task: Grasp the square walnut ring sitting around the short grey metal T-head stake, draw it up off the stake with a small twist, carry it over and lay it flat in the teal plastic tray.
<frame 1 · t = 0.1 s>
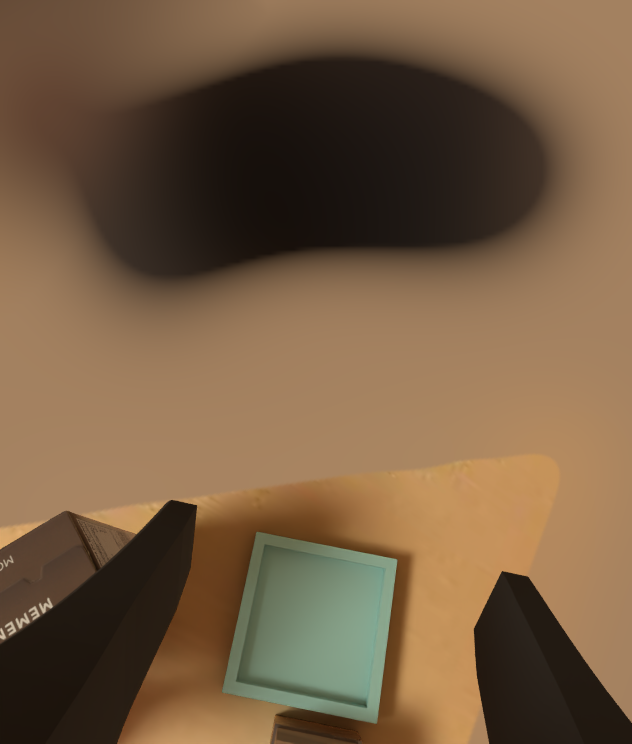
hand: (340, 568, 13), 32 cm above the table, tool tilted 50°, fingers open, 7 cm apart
tray: (312, 621, 41), on the table
coffee box: (108, 602, 41), on the table
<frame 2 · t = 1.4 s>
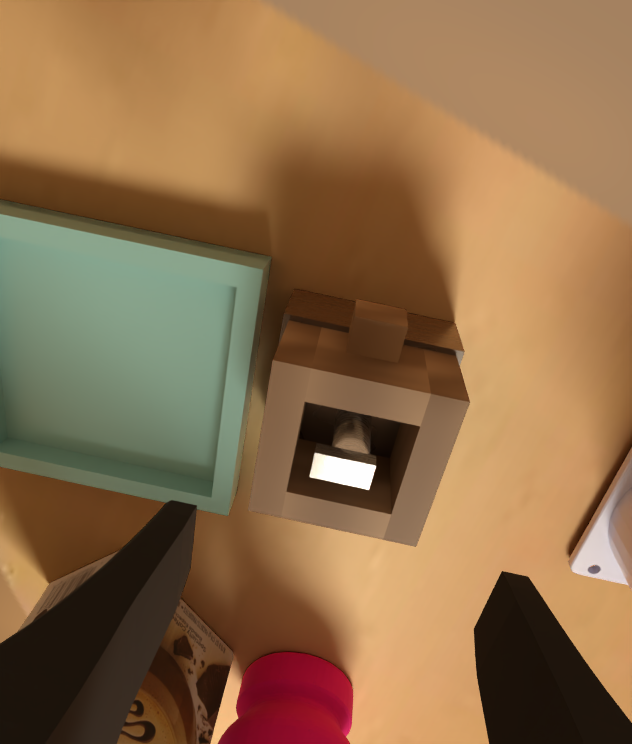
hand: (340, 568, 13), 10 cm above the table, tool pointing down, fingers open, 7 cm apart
ring: (354, 409, 19), point 2 cm above the table, touching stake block
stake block: (357, 376, 21), on the table
tray: (119, 359, 22), on the table
pepper mill: (298, 683, 31), on the table
coffee box: (144, 614, 30), on the table
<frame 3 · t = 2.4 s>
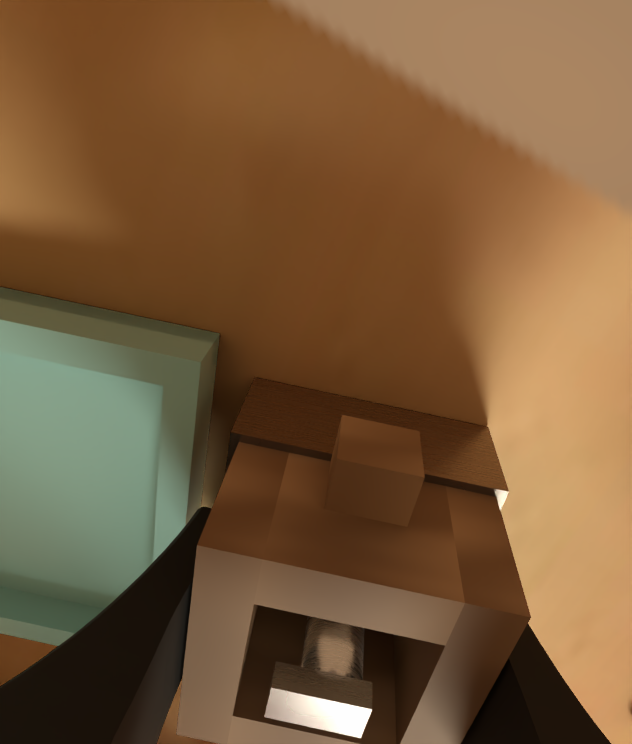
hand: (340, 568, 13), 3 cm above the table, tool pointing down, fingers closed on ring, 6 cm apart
ring: (340, 561, 13), point 2 cm above the table, touching gripper, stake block
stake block: (346, 493, 15), on the table
tray: (17, 463, 16), on the table
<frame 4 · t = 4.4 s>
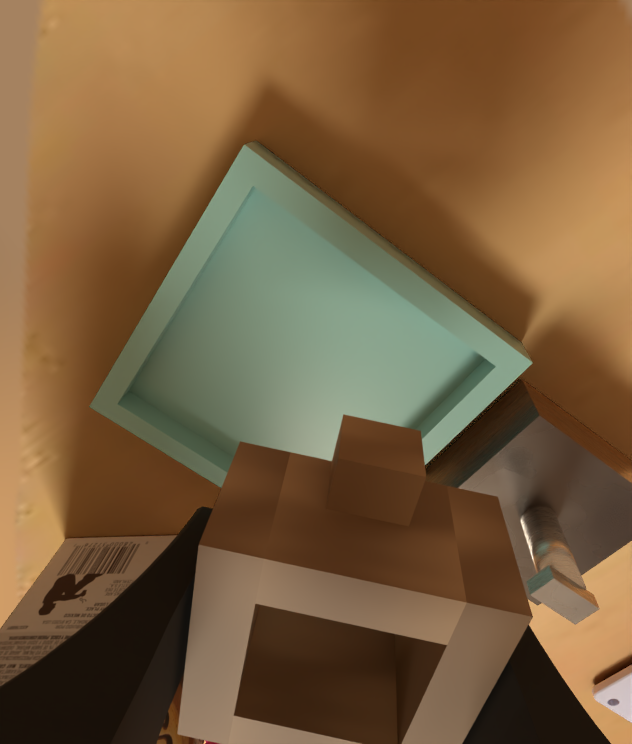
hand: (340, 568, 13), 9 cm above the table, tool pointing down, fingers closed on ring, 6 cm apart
ring: (341, 561, 13), point 8 cm above the table, touching gripper
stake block: (522, 475, 21), on the table
tray: (301, 365, 20), on the table
coffee box: (151, 599, 27), on the table
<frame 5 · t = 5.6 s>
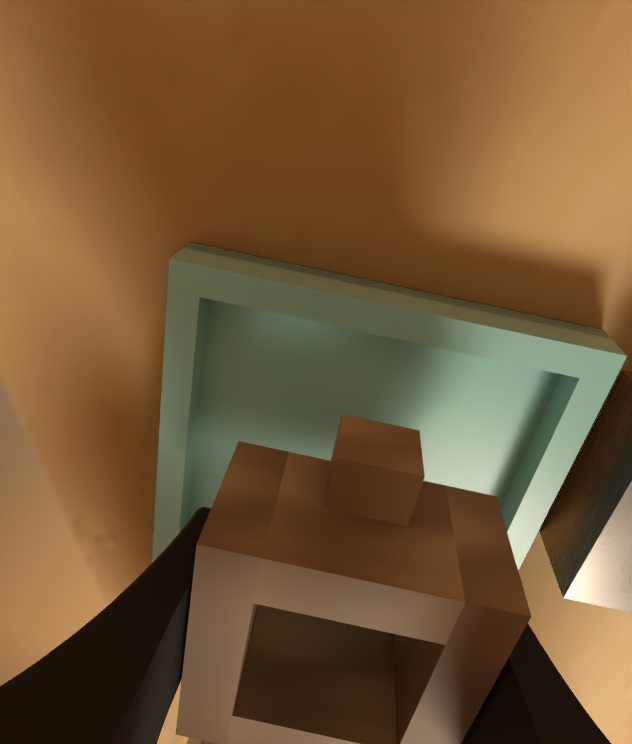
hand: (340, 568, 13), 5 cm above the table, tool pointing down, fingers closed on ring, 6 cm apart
ring: (340, 561, 13), point 4 cm above the table, touching gripper
tray: (351, 453, 17), on the table
when the fingers open (2 cm above the table, at t = 6.6 s): ring drops 2 cm, resting on tray.
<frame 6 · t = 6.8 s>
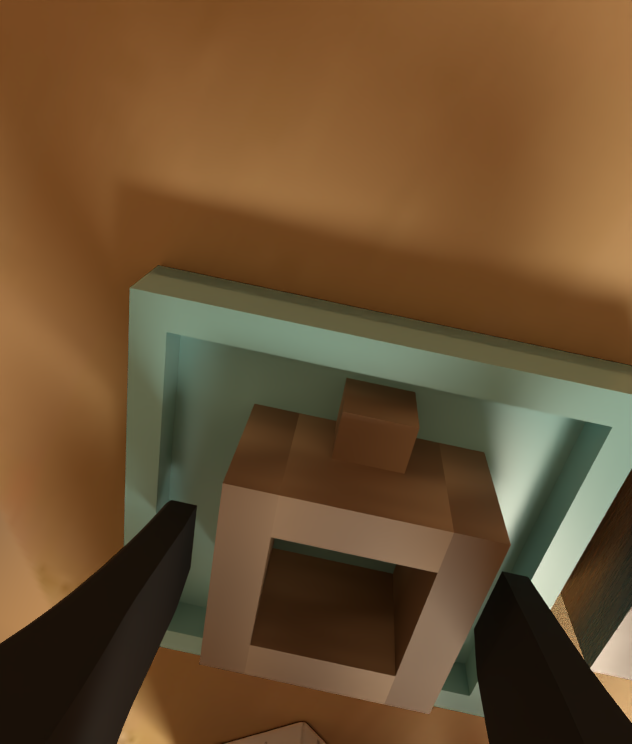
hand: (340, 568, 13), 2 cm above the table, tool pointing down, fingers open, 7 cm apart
ring: (345, 515, 14), point 1 cm above the table, touching tray
tray: (346, 500, 15), on the table
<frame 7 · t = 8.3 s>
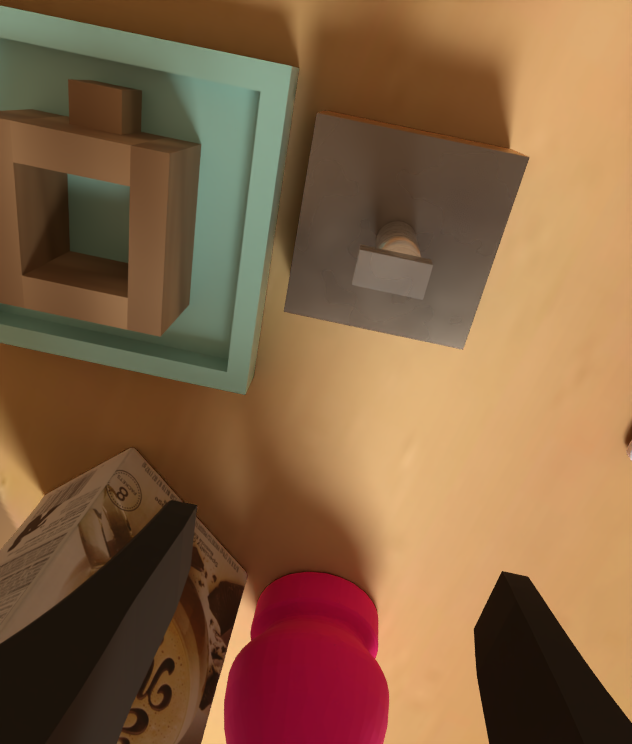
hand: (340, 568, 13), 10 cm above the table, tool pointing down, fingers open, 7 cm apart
ring: (116, 213, 19), point 1 cm above the table, touching tray
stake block: (394, 223, 19), on the table
tray: (123, 210, 19), on the table
pepper mill: (317, 610, 28), on the table
coffee box: (149, 531, 27), on the table
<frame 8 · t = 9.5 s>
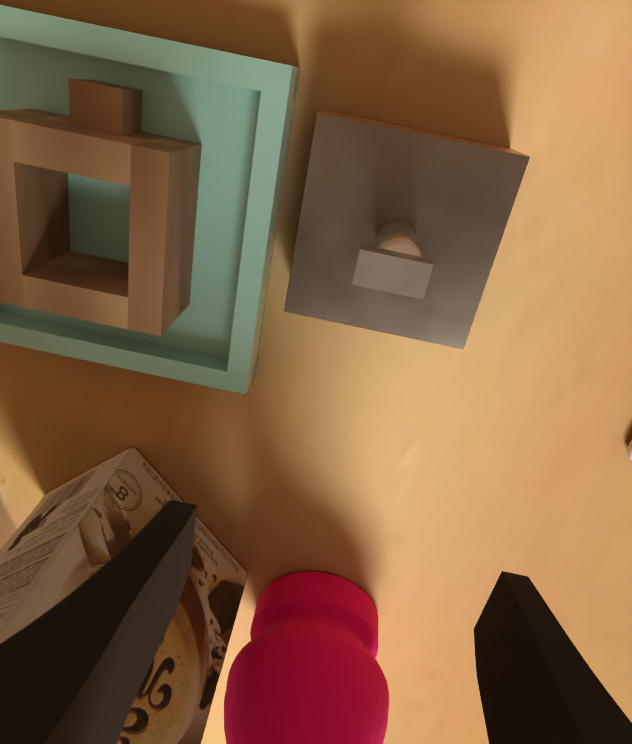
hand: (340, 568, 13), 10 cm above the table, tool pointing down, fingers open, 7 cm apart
ring: (116, 213, 19), point 1 cm above the table, touching tray
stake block: (394, 223, 19), on the table
tray: (123, 209, 19), on the table
pepper mill: (317, 610, 28), on the table
coffee box: (150, 530, 27), on the table
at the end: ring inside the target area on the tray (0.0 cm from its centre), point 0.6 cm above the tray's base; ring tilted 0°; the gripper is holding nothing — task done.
